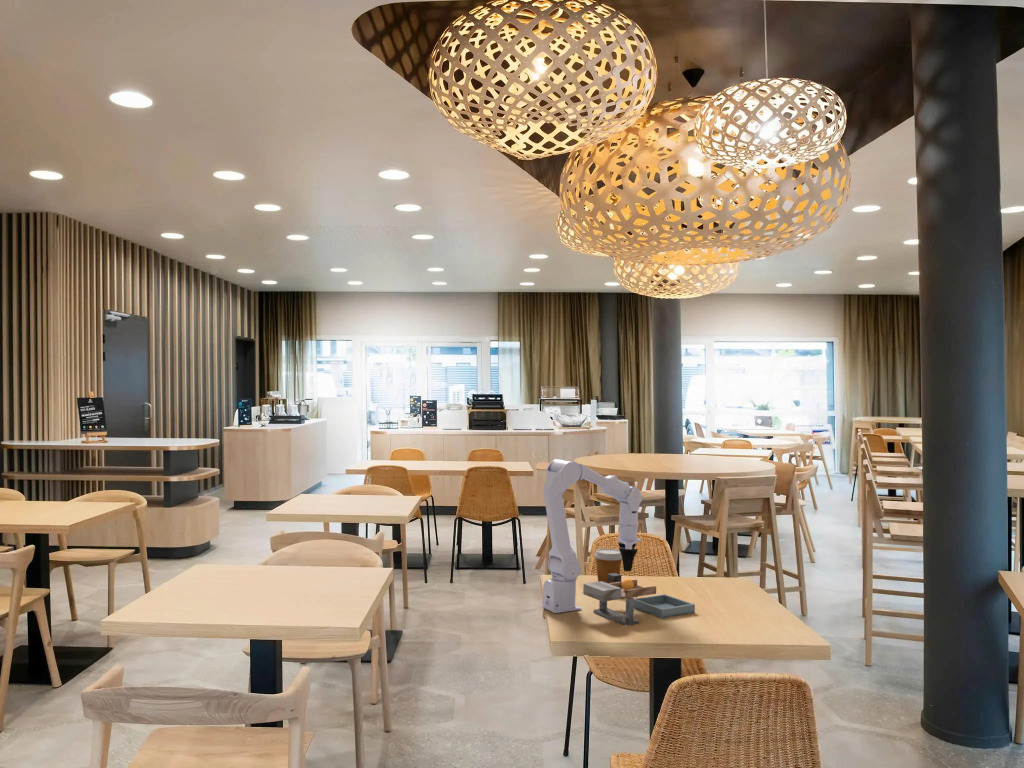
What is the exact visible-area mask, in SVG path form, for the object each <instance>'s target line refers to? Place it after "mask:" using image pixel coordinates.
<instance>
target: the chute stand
mask: <svg viewBox="0 0 1024 768" xmlns="http://www.w3.org/2000/svg"><path fill="white" fill-rule="evenodd" d="M634 599H635V598H634V597H630V598H625V613H621V612H619V611H616V610H614V609H612V608H609V607H608V601H605V602H602V601H599V600H598V601H599V602H598V607H599V608H596V609H593V613H594V614H596V615H598V616H601V617H603V618H606V619H608V620H610V621H613V622H614V623H615V622H616V623H618V624H620V625H623V626H632V625H639V624H640V620H639V619H636V618H634V617H635V616H634V615H635V608H634Z"/></svg>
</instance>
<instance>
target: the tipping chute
mask: <svg viewBox="0 0 1024 768" xmlns="http://www.w3.org/2000/svg"><path fill="white" fill-rule="evenodd" d="M631 580H632V581H633V584H634V586H633V589H631V590H624V589H623V588H622V585H621V584H622V574H621V573H620V574H617V573H611V574H607V581H610V582H611V583H605V582H602V581H600V582H598V581H593V582H587V583H583V592H582V593H583V595H584V596H586V597H589V598H593V599H595V600H597V601H602V602H605V601H607V602H610V601H616V600H623V599H624V600H626V598H630V597H631V598H637V597H638V598H639V597H644V596H645V597H646V596H652V595H657V586H656V585H652V586H647V587H643V586H640V585H638V580H637V579H631Z"/></svg>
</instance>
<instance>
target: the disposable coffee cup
mask: <svg viewBox="0 0 1024 768" xmlns="http://www.w3.org/2000/svg"><path fill="white" fill-rule="evenodd" d="M594 557H595V563H596V565H595V566H596V575H597V582H600V581H602V582H605V583H611V582H610V581H607V574H611V573H617V574H620V575H621V573H620V572H621V564H622V555H621V553H620V550H619V549H615V548H598V549H596V550H595V553H594Z"/></svg>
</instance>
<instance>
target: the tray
mask: <svg viewBox="0 0 1024 768" xmlns="http://www.w3.org/2000/svg"><path fill="white" fill-rule="evenodd" d="M633 599H634V610H638V611H641V612H643V613H646V614H649V615H652V616H654V617H656V618H659V619H666V618H673V617H679V616H684V615H691V614H695V613H696V604H694V603H693V602H692V603H691V602H689V601H687V600H683V599H679V598H677V597H674V596H672V595H668V594H665V593H664V594H655V595H648V596H645V597H644V596H642V597H638V598H637V597H635V598H633Z"/></svg>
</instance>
